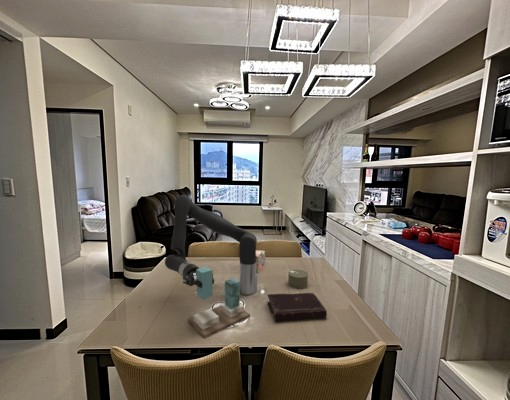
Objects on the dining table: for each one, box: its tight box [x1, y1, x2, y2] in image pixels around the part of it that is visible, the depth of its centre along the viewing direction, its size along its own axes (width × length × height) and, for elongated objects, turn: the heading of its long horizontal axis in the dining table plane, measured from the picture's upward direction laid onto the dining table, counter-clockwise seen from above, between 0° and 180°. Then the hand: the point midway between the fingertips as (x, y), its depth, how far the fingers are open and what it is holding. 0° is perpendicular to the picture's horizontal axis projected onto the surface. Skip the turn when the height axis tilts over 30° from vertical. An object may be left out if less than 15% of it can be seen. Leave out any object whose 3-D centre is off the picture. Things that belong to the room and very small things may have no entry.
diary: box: [266, 292, 328, 323], centre depth 124 cm, size 19×25×5 cm
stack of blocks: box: [256, 249, 266, 274], centre depth 178 cm, size 21×6×12 cm, turn 165°
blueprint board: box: [187, 277, 251, 339], centre depth 114 cm, size 24×15×16 cm, turn 131°
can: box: [287, 269, 309, 289], centre depth 152 cm, size 12×12×7 cm
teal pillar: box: [196, 266, 213, 301], centre depth 108 cm, size 5×5×12 cm
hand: (207, 283), depth 106 cm, fingers closed on teal pillar, 5 cm apart
